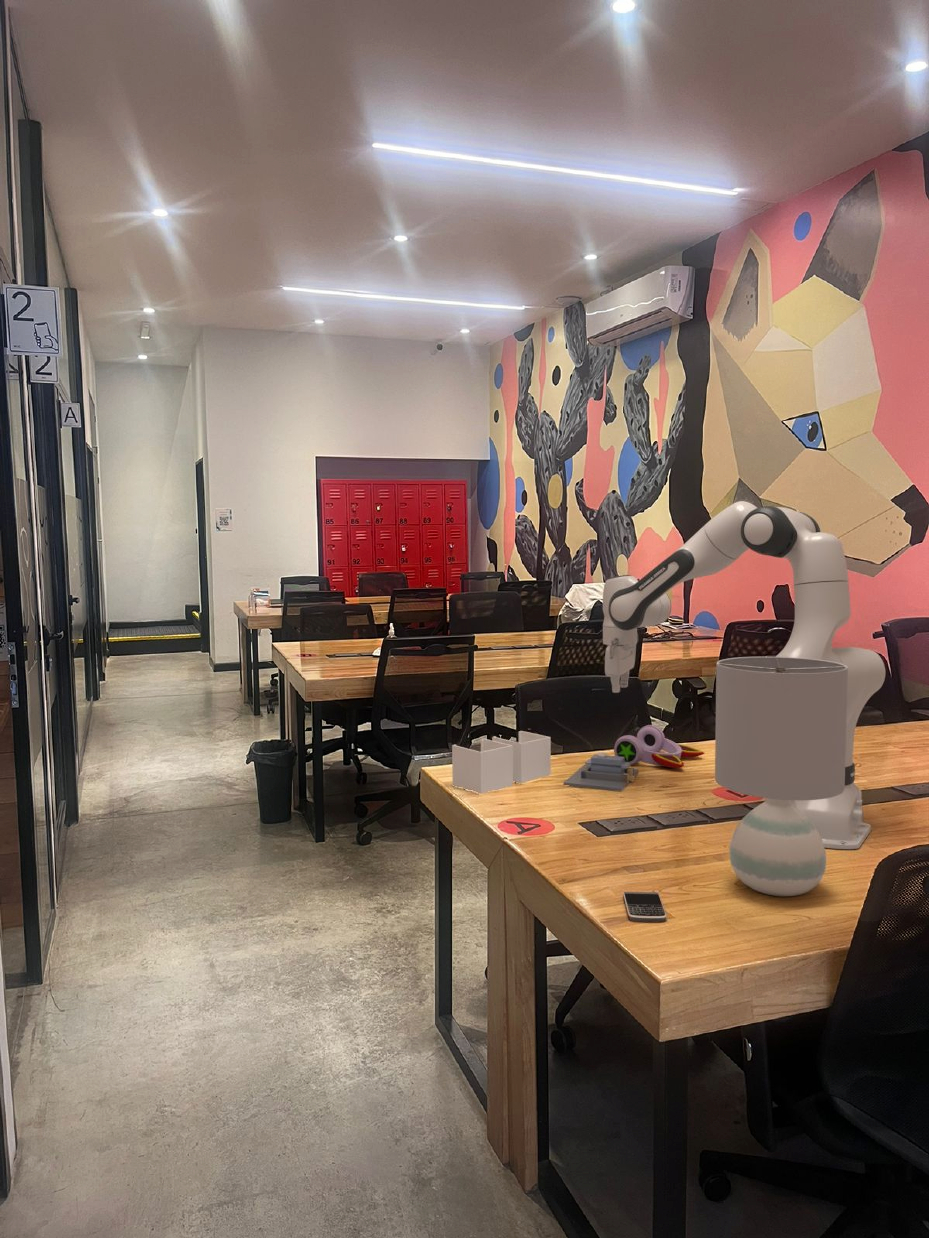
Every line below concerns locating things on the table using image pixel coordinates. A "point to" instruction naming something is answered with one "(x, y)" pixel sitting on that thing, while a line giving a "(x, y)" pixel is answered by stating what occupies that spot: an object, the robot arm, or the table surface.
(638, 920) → the cell phone
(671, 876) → the table surface
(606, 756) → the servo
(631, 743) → the headphones
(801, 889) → the lamp
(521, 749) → the double compartment bin
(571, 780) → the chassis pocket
